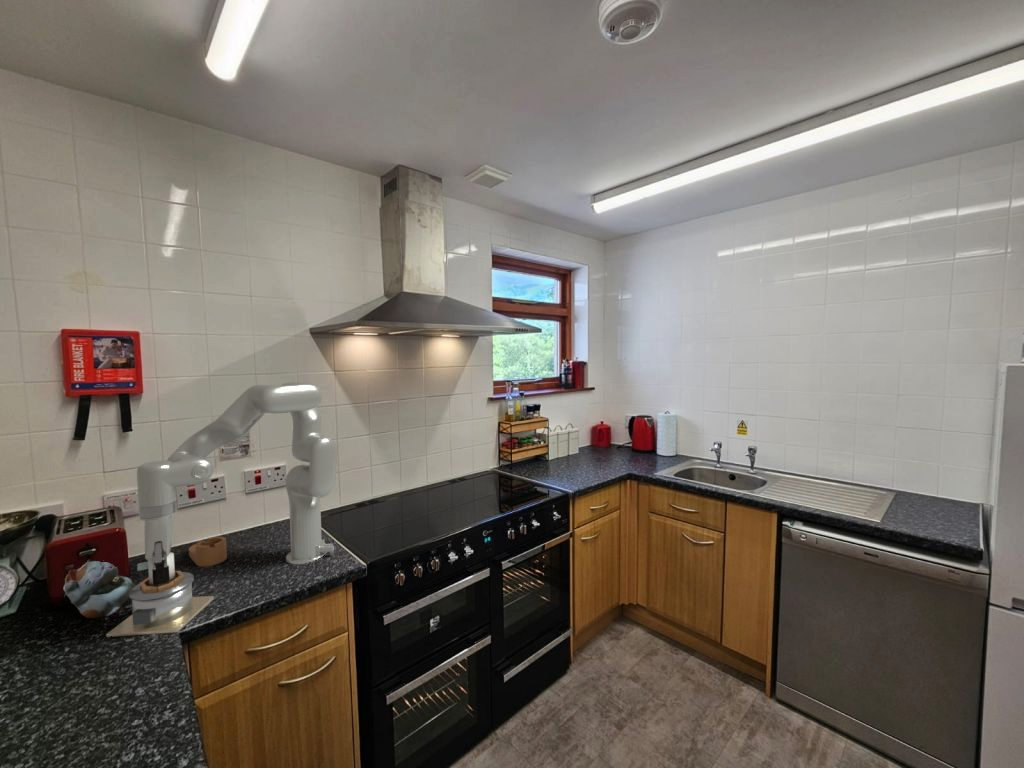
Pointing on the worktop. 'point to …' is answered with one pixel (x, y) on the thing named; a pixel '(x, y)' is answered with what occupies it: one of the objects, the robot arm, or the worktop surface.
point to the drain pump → (149, 566)
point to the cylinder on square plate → (161, 607)
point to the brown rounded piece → (209, 551)
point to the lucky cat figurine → (97, 588)
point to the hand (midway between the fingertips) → (162, 577)
